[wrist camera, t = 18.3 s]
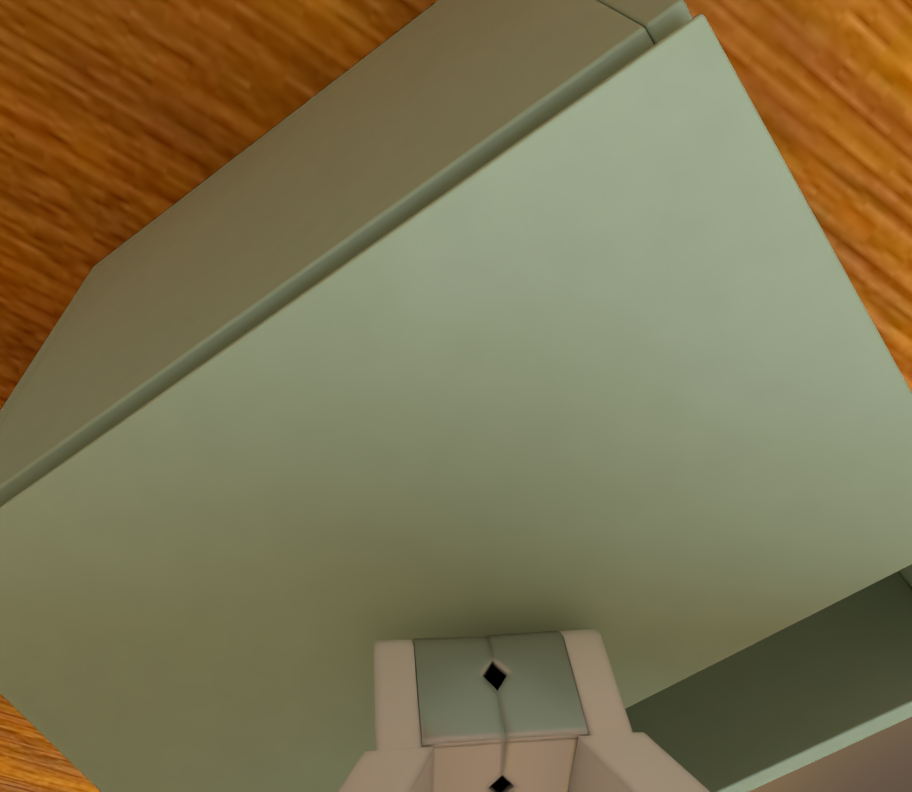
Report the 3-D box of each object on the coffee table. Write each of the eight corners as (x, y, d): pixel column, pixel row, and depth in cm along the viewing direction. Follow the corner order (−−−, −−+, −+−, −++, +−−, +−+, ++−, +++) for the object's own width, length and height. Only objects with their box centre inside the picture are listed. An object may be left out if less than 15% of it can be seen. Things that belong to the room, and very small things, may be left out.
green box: (92, 266, 21) (-93, 552, 12) (525, -67, 18) (684, -3, 10) (433, 595, 29) (469, 921, 20) (782, 394, 26) (1007, 673, 17)
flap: (-97, 574, 12) (-111, 587, 12) (697, 14, 9) (702, 11, 9) (228, 895, 14) (223, 912, 14) (974, 517, 11) (987, 527, 11)
